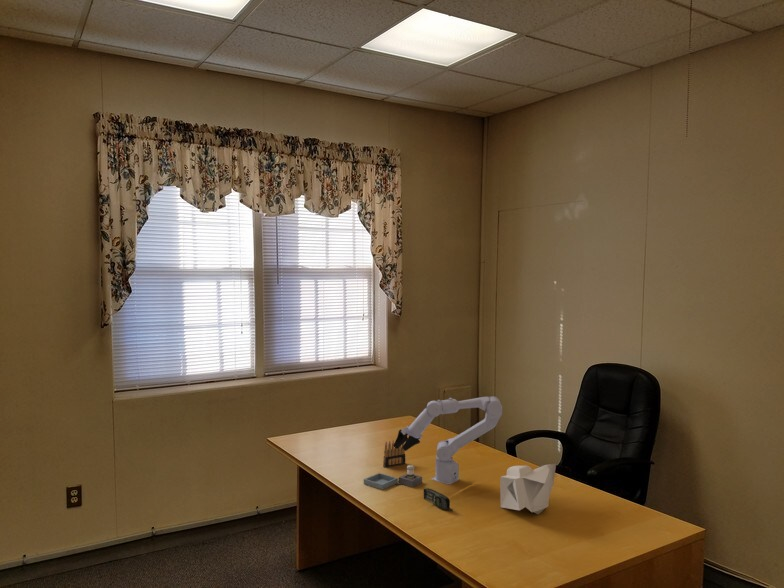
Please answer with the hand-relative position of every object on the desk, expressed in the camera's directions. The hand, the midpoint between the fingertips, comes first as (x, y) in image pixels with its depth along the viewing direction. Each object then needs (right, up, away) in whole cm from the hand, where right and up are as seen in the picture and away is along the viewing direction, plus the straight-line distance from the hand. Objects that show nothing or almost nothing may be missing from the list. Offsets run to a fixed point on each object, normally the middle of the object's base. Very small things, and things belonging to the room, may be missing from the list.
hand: (399, 448), depth 248 cm
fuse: (+4, -13, -6) cm, 15 cm away
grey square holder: (+4, -13, -6) cm, 15 cm away
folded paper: (+50, -15, -31) cm, 61 cm away
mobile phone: (+14, -15, -28) cm, 35 cm away
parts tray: (-8, -13, -7) cm, 17 cm away
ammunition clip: (-2, -13, +16) cm, 20 cm away
